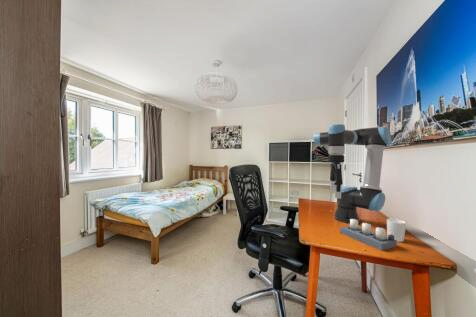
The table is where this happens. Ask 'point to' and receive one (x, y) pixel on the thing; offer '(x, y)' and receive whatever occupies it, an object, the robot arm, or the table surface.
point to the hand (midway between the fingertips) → (335, 195)
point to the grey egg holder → (369, 238)
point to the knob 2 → (380, 234)
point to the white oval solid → (366, 228)
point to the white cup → (396, 229)
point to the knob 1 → (353, 224)
